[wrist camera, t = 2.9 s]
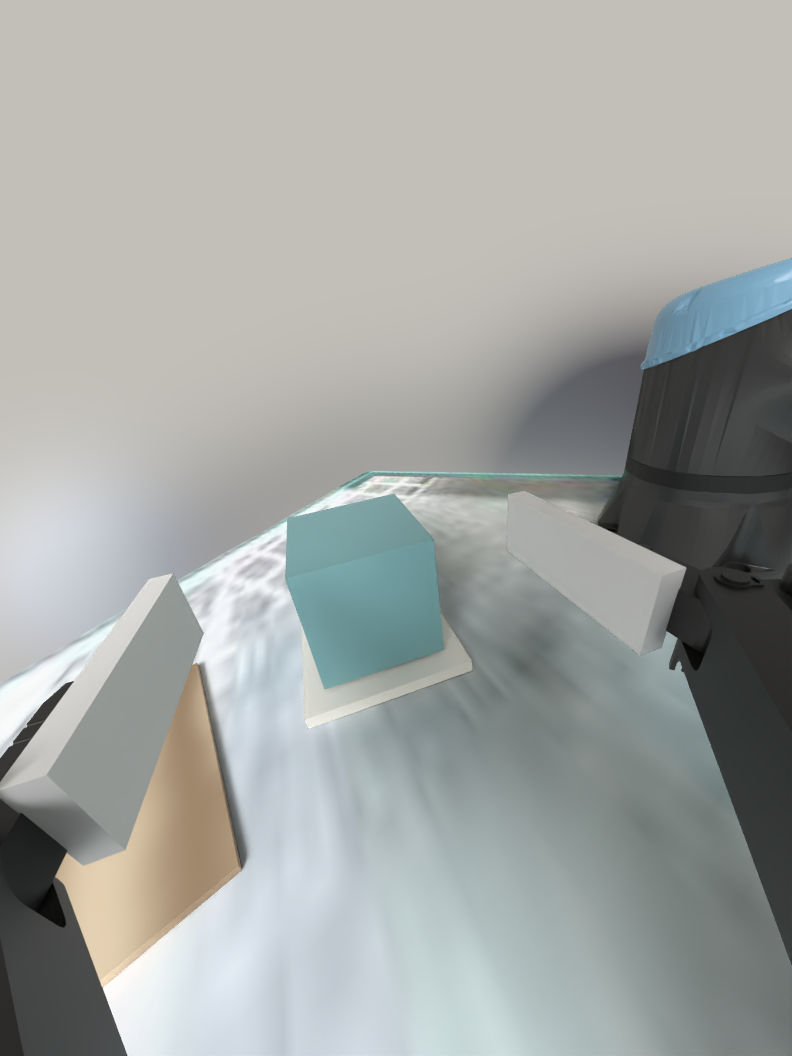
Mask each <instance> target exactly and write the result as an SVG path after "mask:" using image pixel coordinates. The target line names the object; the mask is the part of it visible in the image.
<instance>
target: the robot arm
mask: <svg viewBox="0 0 792 1056" xmlns="http://www.w3.org/2000/svg"><path fill="white" fill-rule="evenodd" d="M643 369H644V373H643V378H642V384H641V389H640V394H639V399H638V404H637V410H636V415H635V419H634V424H633V429H632V435H631V440H630V445H629V450H628V456H627V461H626V467H625V471H624V474H623V477H622V478H621V480H620V482H619V483H618V485H617V487H616V488H615V490H614V492H613V493H612V495H611V497H610V498H609V500H608V502H607V503H606V505H605V507H604V508H603V510H602V512H601V513H600V515H599V517H598V518H597V521H596V524H593V523H591V522H589V521H587V520H585V519H583V518H581V517H578V516H576V515H574V514H572V513H570V512H568V511H566V510H564V509H562V508H559V507H557V506H555V505H553V504H551V503H549V502H547V501H545V500H543V499H540V498H538V497H536V496H534V495H532V494H530V493H528V492H526V491H521V492H517V493H512V494H508V523H507V551H508V552H510V553H511V554H512V555H513V556H515V557H516V558H517V559H518V560H520V561H521V562H522V563H524V564H525V565H526V566H527V567H529V568H530V569H531V570H532V571H534V572H535V573H536V574H537V575H539V576H540V577H541V578H542V579H544V580H545V581H546V582H548V583H549V584H550V585H551V586H553V587H554V588H555V589H556V590H558V591H559V592H560V593H561V594H563V595H564V596H565V597H566V598H568V599H569V600H570V601H572V602H573V603H574V604H575V605H577V606H578V607H579V608H580V609H582V610H583V611H584V612H585V613H587V614H588V615H589V616H590V617H592V618H593V619H594V620H596V621H597V622H598V623H599V624H601V625H602V626H603V627H604V628H606V629H607V630H608V631H609V632H611V633H612V634H613V635H614V636H616V637H617V638H618V639H620V640H621V641H622V642H623V643H625V644H626V645H627V646H628V647H630V648H631V649H632V650H633V651H635V652H636V653H637V654H638V655H640V656H641V655H643V654H646V653H649V652H651V651H654V650H656V649H659V648H661V647H662V644H663V641H664V638H665V635H666V632H667V631H668V632H669V633H671V634H672V635H674V636H675V637H677V638H678V639H677V642H676V645H675V648H674V651H673V654H672V657H671V660H670V663H669V669H671V670H674V669H675V666H676V664H677V662H679V661H680V662H681V665H682V670H681V672H684V673H685V676H686V679H687V681H688V684H689V687H690V689H691V692H692V695H693V698H694V700H695V703H696V706H697V709H698V711H699V714H700V717H701V719H702V722H703V725H704V728H705V730H706V733H707V736H708V738H709V741H710V744H711V747H712V749H713V752H714V755H715V757H716V760H717V763H718V766H719V768H720V771H721V774H722V777H723V779H724V782H725V785H726V787H727V790H728V793H729V796H730V798H731V801H732V804H733V806H734V809H735V812H736V815H737V817H738V820H739V823H740V825H741V828H742V831H743V834H744V836H745V839H746V842H747V844H748V847H749V850H750V853H751V855H752V858H753V861H754V864H755V866H756V869H757V872H758V874H759V877H760V880H761V883H762V885H763V888H764V891H765V893H766V896H767V899H768V902H769V904H770V907H771V910H772V912H773V915H774V918H775V921H776V923H777V926H778V929H779V932H780V934H781V937H782V940H783V942H784V945H785V948H786V951H787V953H788V956H789V959H790V961H791V964H792V258H790V259H787V260H783V261H780V262H777V263H774V264H771V265H767V266H764V267H761V268H758V269H755V270H752V271H748V272H745V273H742V274H739V275H736V276H733V277H730V278H727V279H724V280H720V281H717V282H715V283H712V284H709V285H706V286H703V287H700V288H697V289H695V290H692V291H689V292H687V293H685V294H682V295H680V296H678V297H676V298H675V299H673V300H672V301H671V302H669V303H668V304H667V305H666V306H665V307H664V308H663V309H662V310H661V311H660V313H659V314H658V316H657V317H656V319H655V322H654V325H653V329H652V333H651V337H650V341H649V345H648V349H647V354H646V358H645V361H644V362H642V364H641V370H643ZM202 636H203V631H202V629H201V627H200V625H199V623H198V621H197V619H196V617H195V615H194V613H193V611H192V609H191V607H190V605H189V603H188V601H187V599H186V597H185V596H184V594H183V592H182V590H181V588H180V586H179V584H178V582H177V580H176V578H175V576H174V574H169V575H165V576H160V577H157V578H152V579H149V580H148V581H147V583H146V584H145V585H144V587H143V588H142V589H141V591H140V592H139V593H138V595H137V596H136V598H135V599H134V600H133V602H132V603H131V604H130V606H129V607H128V608H127V610H126V611H125V613H124V614H123V615H122V617H121V618H120V619H119V621H118V622H117V623H116V625H115V626H114V628H113V629H112V630H111V632H110V633H109V634H108V636H107V637H106V638H105V640H104V641H103V643H102V644H101V645H100V647H99V648H98V649H97V651H96V652H95V653H94V655H93V656H92V658H91V659H90V660H89V662H88V663H87V664H86V666H85V667H84V668H83V670H82V671H81V673H80V674H79V675H78V677H77V678H76V679H75V681H72V682H69V683H66V684H65V685H64V686H62V687H61V688H60V689H59V690H58V691H57V692H56V693H54V694H53V695H52V696H51V697H50V698H49V699H48V700H46V701H45V702H44V703H43V704H42V705H41V707H40V708H39V709H38V711H37V712H36V713H35V714H34V716H33V717H32V718H31V720H30V721H29V722H28V723H27V728H24V729H23V730H22V731H21V732H20V734H19V735H18V736H17V738H16V739H15V740H14V741H13V746H10V747H9V748H8V749H7V750H6V752H5V753H4V754H3V756H2V757H1V758H0V1056H127V1053H126V1051H125V1048H124V1045H123V1043H122V1040H121V1037H120V1034H119V1032H118V1029H117V1026H116V1024H115V1021H114V1018H113V1015H112V1013H111V1010H110V1007H109V1005H108V1002H107V999H106V996H105V994H104V991H103V988H102V986H101V983H100V980H99V977H98V975H97V972H96V969H95V967H94V964H93V961H92V958H91V956H90V953H89V950H88V948H87V945H86V942H85V939H84V937H83V934H82V931H81V929H80V926H79V923H78V921H77V918H76V915H75V912H74V910H73V907H72V904H71V902H70V899H69V896H68V893H67V891H66V888H65V885H64V884H63V883H62V882H61V881H60V880H59V879H58V878H56V877H55V876H56V874H57V872H58V870H59V868H60V865H61V863H62V861H63V859H64V857H65V855H66V853H68V854H69V855H70V856H71V857H73V858H74V859H75V860H76V861H78V862H79V863H80V864H81V865H83V866H85V865H87V864H90V863H93V862H95V861H98V860H101V859H103V858H106V857H109V856H111V855H114V854H116V853H119V852H122V851H124V850H126V847H127V845H128V842H129V839H130V836H131V834H132V831H133V828H134V825H135V822H136V820H137V817H138V814H139V811H140V808H141V806H142V803H143V800H144V797H145V795H146V792H147V789H148V786H149V783H150V781H151V778H152V775H153V772H154V770H155V767H156V764H157V761H158V758H159V756H160V753H161V750H162V747H163V744H164V742H165V739H166V736H167V733H168V731H169V728H170V725H171V722H172V719H173V717H174V714H175V711H176V708H177V706H178V703H179V700H180V697H181V694H182V692H183V689H184V686H185V683H186V680H187V678H188V675H189V672H190V669H191V667H192V664H193V661H194V658H195V655H196V653H197V650H198V647H199V644H200V642H201V639H202Z"/></svg>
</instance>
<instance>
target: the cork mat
mask: <svg viewBox="0 0 792 1056" xmlns="http://www.w3.org/2000/svg"><path fill="white" fill-rule="evenodd" d="M241 870H242V868H241V863H240V858H239V853H238V849H237V844H236V839H235V834H234V830H233V825H232V820H231V815H230V811H229V806H228V801H227V796H226V792H225V787H224V782H223V777H222V773H221V768H220V763H219V758H218V754H217V749H216V744H215V739H214V735H213V730H212V725H211V720H210V716H209V711H208V706H207V701H206V697H205V692H204V687H203V682H202V678H201V673H200V668H199V666H198V664H197V663H196V664H194V665H192V667H191V669H190V672H189V675H188V678H187V680H186V683H185V686H184V689H183V692H182V694H181V697H180V700H179V703H178V706H177V708H176V711H175V714H174V717H173V719H172V722H171V725H170V728H169V731H168V733H167V736H166V739H165V742H164V744H163V747H162V750H161V753H160V756H159V758H158V761H157V764H156V767H155V770H154V772H153V775H152V778H151V781H150V783H149V786H148V789H147V792H146V795H145V797H144V800H143V803H142V806H141V808H140V811H139V814H138V817H137V820H136V822H135V825H134V828H133V831H132V834H131V836H130V839H129V842H128V845H127V847H126V850H124V851H122V852H119V853H116V854H114V855H111V856H109V857H106V858H103V859H101V860H98V861H95V862H93V863H90V864H87V865H85V866H83V865H81V864H80V863H79V862H78V861H76V860H75V859H74V858H73V857H71V856H70V855H69V854H68V853H66V855H65V857H64V859H63V861H62V863H61V865H60V868H59V870H58V872H57V874H56V876H55V877H56V878H58V879H59V880H60V881H61V882H62V883H63V884H64V885H65V888H66V891H67V893H68V896H69V899H70V902H71V904H72V907H73V910H74V912H75V915H76V918H77V921H78V923H79V926H80V929H81V931H82V934H83V937H84V939H85V942H86V945H87V948H88V950H89V953H90V956H91V958H92V961H93V964H94V967H95V969H96V972H97V975H98V977H99V980H100V983H101V986H102V987H103V986H105V985H106V984H107V983H108V982H109V981H111V980H112V979H113V978H114V977H115V976H116V975H118V974H119V973H120V972H121V971H122V970H124V969H125V968H126V967H127V966H128V965H130V964H131V963H132V962H133V961H134V960H135V959H137V958H138V957H139V956H140V955H141V954H143V953H144V952H145V951H146V950H147V949H149V948H150V947H151V946H152V945H153V944H155V943H156V942H157V941H158V940H159V939H160V938H162V937H163V936H164V935H165V934H166V933H168V932H169V931H170V930H171V929H172V928H174V927H175V926H176V925H177V924H178V923H179V922H181V921H182V920H183V919H184V918H185V917H187V916H188V915H189V914H190V913H191V912H193V911H194V910H195V909H196V908H197V907H198V906H200V905H201V904H202V903H203V902H204V901H206V900H207V899H208V898H209V897H210V896H212V895H213V894H214V893H215V892H216V891H217V890H219V889H220V888H221V887H222V886H223V885H225V884H226V883H227V882H228V881H229V880H231V879H232V878H233V877H234V876H235V875H236V874H238V873H239V872H240V871H241Z"/></svg>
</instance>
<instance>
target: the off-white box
mask: <svg viewBox="0 0 792 1056" xmlns="http://www.w3.org/2000/svg"><path fill="white" fill-rule="evenodd" d="M440 612H441V611H440ZM441 622H442V633H443V643H444V650H441V651H438V652H435V653H432V654H429V655H426V656H423V657H420V658H417V659H414V660H411V661H408V662H405V663H402V664H399V665H396V666H393V667H390V668H387V669H384V670H381V671H379V672H376V673H373V674H370V675H367V676H364V677H361V678H358V679H355V680H352V681H349V682H346V683H343V684H340V685H337V686H334V687H331V688H328V689H325V690H324V687H323V684H322V681H321V678H320V675H319V673H318V670H317V667H316V664H315V661H314V658H313V656H312V653H311V650H310V647H309V644H308V641H307V639H306V636H305V633H304V630H303V627H302V624H301V627H302V656H303V685H304V714H305V722H306V724H307V726H308V729H310V728H313V727H316V726H318V725H321V724H324V723H327V722H330V721H332V720H335V719H338V718H341V717H344V716H346V715H349V714H352V713H355V712H358V711H360V710H363V709H366V708H369V707H372V706H374V705H377V704H380V703H383V702H386V701H388V700H391V699H394V698H397V697H400V696H402V695H405V694H408V693H411V692H414V691H416V690H419V689H422V688H425V687H428V686H430V685H433V684H436V683H439V682H442V681H444V680H447V679H450V678H453V677H456V676H459V675H461V674H464V673H467V672H470V671H472V660H471V658H470V657H469V655H468V654H467V652H466V651H465V649H464V647H463V646H462V644H461V643H460V641H459V640H458V638H457V636H456V635H455V633H454V632H453V630H452V628H451V627H450V625H449V624H448V622H447V621H446V619H445V617H444V616H443V614H442V613H441Z"/></svg>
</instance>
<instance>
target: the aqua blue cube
mask: <svg viewBox="0 0 792 1056" xmlns="http://www.w3.org/2000/svg"><path fill="white" fill-rule="evenodd" d="M285 579H286V582H287V585H288V588H289V590H290V593H291V596H292V599H293V602H294V605H295V607H296V610H297V613H298V616H299V619H300V622H301V624H302V627H303V630H304V633H305V636H306V639H307V641H308V644H309V647H310V650H311V653H312V656H313V658H314V661H315V664H316V667H317V670H318V673H319V675H320V678H321V681H322V684H323V687H324V690H325V689H328V688H331V687H334V686H337V685H340V684H343V683H346V682H349V681H352V680H355V679H358V678H361V677H364V676H367V675H370V674H373V673H376V672H379V671H381V670H384V669H387V668H390V667H393V666H396V665H399V664H402V663H405V662H408V661H411V660H414V659H417V658H420V657H423V656H426V655H429V654H432V653H435V652H438V651H441V650H444V643H443V633H442V622H441V612H440V602H439V591H438V581H437V571H436V560H435V550H434V540H433V538H432V537H431V536H430V535H429V533H428V532H427V531H426V530H425V529H424V528H423V526H422V525H421V524H420V523H419V522H418V521H417V520H416V518H415V517H414V516H413V515H412V514H411V513H410V512H409V510H408V509H407V508H406V507H405V506H404V505H403V503H402V502H401V501H400V500H399V499H398V498H397V497H396V495H395V494H391V495H387V496H382V497H378V498H374V499H369V500H365V501H361V502H357V503H352V504H348V505H344V506H339V507H335V508H331V509H327V510H322V511H318V512H314V513H309V514H305V515H301V516H296V517H292V518H288V520H287V547H286V574H285Z"/></svg>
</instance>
